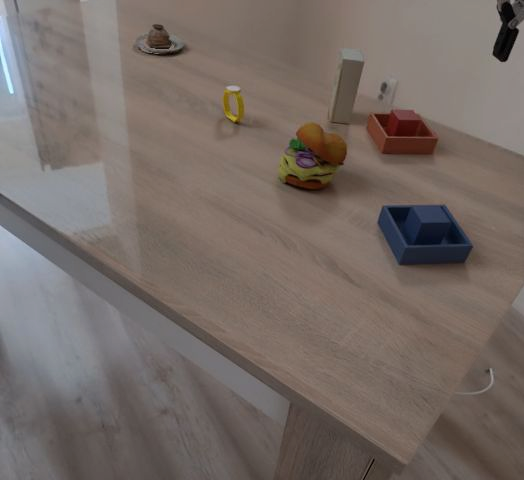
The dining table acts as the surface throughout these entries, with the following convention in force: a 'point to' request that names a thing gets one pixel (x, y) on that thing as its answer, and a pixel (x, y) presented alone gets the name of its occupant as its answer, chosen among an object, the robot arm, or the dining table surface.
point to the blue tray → (450, 250)
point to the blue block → (426, 225)
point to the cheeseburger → (312, 157)
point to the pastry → (160, 40)
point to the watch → (240, 105)
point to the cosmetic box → (346, 85)
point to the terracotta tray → (391, 144)
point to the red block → (402, 123)
